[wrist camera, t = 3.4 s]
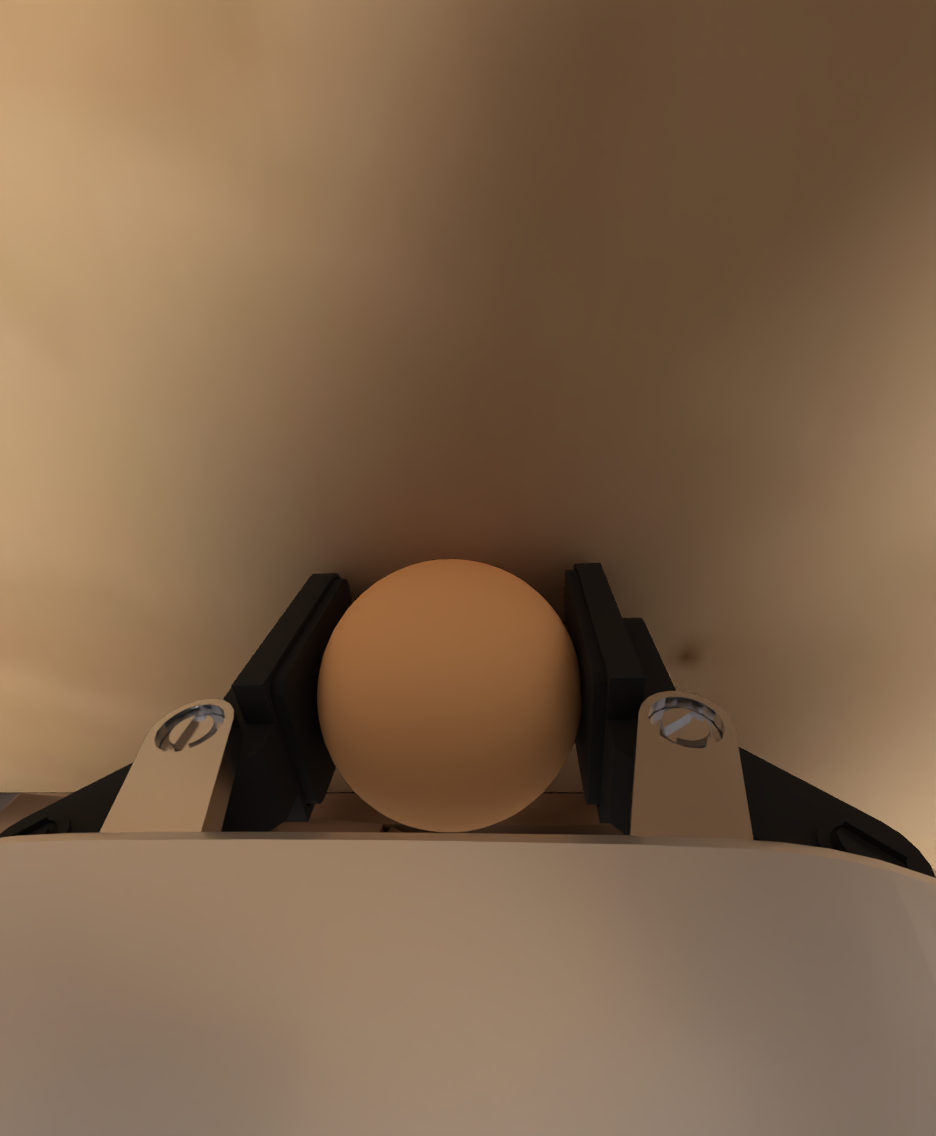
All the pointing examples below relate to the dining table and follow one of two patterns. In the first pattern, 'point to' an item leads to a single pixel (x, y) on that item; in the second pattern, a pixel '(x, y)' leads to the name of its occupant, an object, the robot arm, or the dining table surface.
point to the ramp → (358, 816)
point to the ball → (449, 695)
